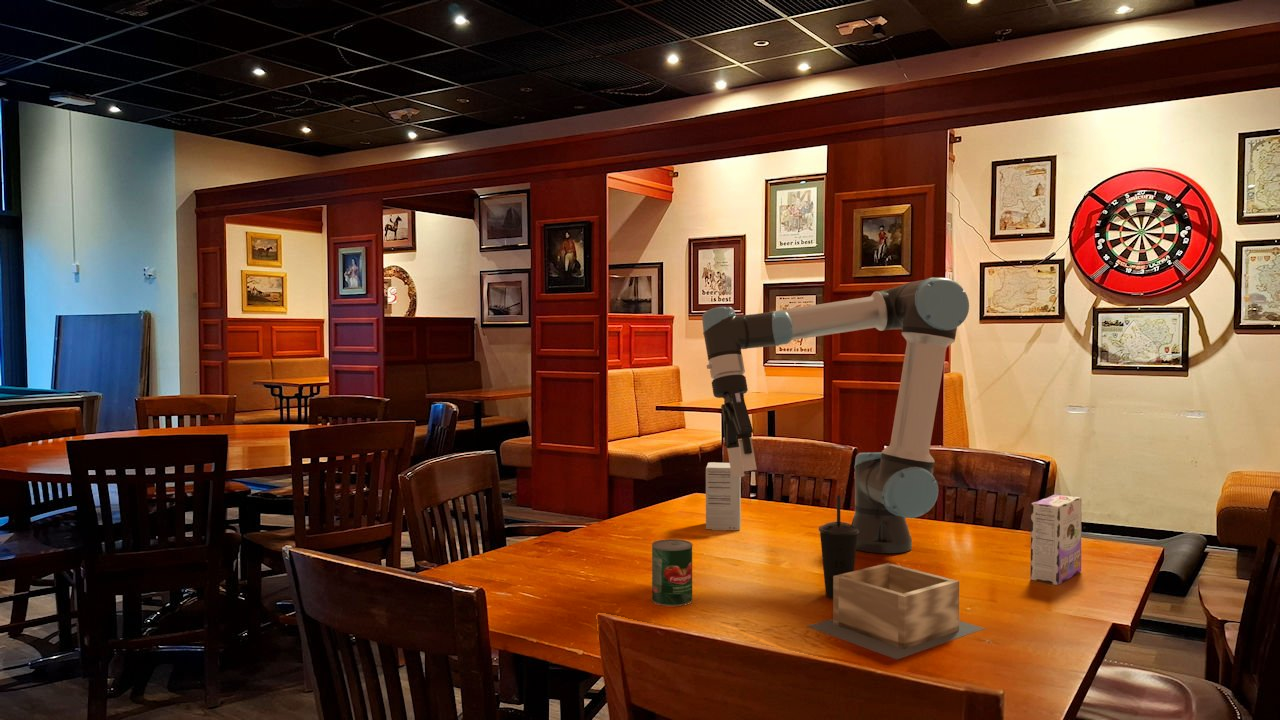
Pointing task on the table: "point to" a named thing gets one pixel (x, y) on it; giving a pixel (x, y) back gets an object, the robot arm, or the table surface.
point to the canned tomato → (672, 572)
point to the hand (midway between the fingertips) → (743, 473)
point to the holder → (896, 604)
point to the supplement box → (722, 498)
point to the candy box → (1055, 539)
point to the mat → (885, 647)
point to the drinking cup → (837, 549)
